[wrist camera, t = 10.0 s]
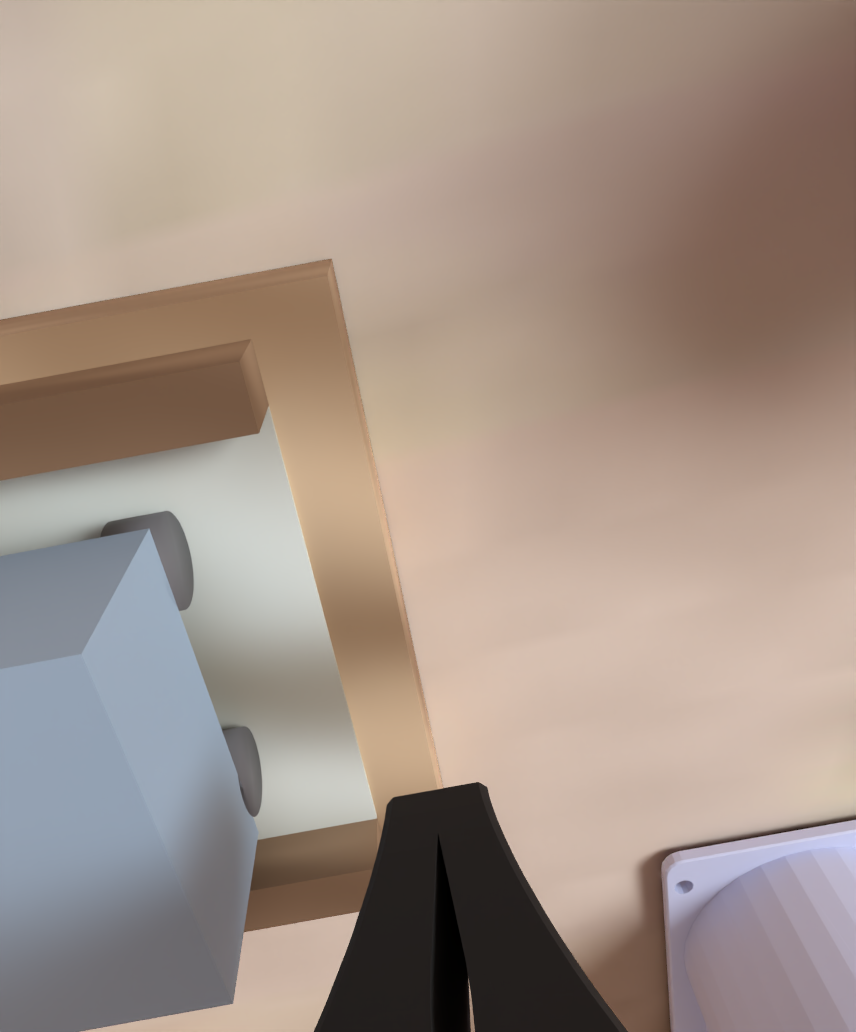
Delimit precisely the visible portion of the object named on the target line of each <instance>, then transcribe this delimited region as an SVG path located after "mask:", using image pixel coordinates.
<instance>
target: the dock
mask: <svg viewBox="0 0 856 1032" xmlns="http://www.w3.org/2000/svg"><path fill="white" fill-rule="evenodd" d="M163 511H170V512H171V513H173V514H174V515H175V516H176V518H177V519H178V521H179V523H180V524H181V526H182V528H183V531H184V533H185V536H186V539H187V542H188V546H189V549H190V554H191V559H192V565H193V576H194V590H193V597H192V601H191V604H190V606H189V607H188V609H186V610H183V611H179V613H180V615H181V618H182V621H183V624H184V626H185V629H186V632H187V635H188V638H189V640H190V643H191V646H192V649H193V651H194V654H195V657H196V660H197V663H198V665H199V668H200V671H201V674H202V676H203V679H204V682H205V685H206V688H207V690H208V693H209V696H210V699H211V701H212V704H213V707H214V710H215V713H216V715H217V718H218V721H219V724H220V726H221V729H222V730H226V729H232V728H237V727H243V726H246V727H248V728H249V729H250V731H251V733H252V734H253V737H254V739H255V742H256V745H257V749H258V753H259V758H260V764H261V773H262V801H261V807H260V811H259V813H258V815H257V816H256V817H253V818H254V821H255V824H256V827H257V829H258V832H259V833H258V840H257V846H256V853H255V860H254V866H253V873H252V880H251V886H250V893H249V900H248V906H247V913H246V920H245V926H244V932H247V931H253V930H259V929H264V928H270V927H275V926H281V925H287V924H292V923H298V922H304V921H309V920H315V919H320V918H326V917H332V916H337V915H343V914H348V913H354V912H360V909H361V906H362V903H363V900H364V897H365V894H366V891H367V888H368V885H369V881H370V877H371V874H372V870H373V867H374V863H375V859H376V856H377V852H378V848H379V843H380V839H381V834H382V830H383V825H384V820H385V813H386V806H387V804H388V803H389V801H390V800H391V799H392V798H393V797H397V796H403V795H408V794H414V793H420V792H425V791H431V790H437V789H442V788H443V785H442V780H441V775H440V771H439V766H438V761H437V756H436V752H435V747H434V742H433V737H432V733H431V728H430V723H429V718H428V714H427V709H426V704H425V699H424V695H423V690H422V685H421V680H420V676H419V671H418V666H417V661H416V657H415V652H414V647H413V642H412V638H411V633H410V628H409V623H408V619H407V614H406V609H405V604H404V600H403V595H402V590H401V586H400V581H399V576H398V571H397V567H396V562H395V557H394V552H393V548H392V543H391V538H390V533H389V529H388V524H387V519H386V514H385V510H384V505H383V500H382V495H381V491H380V486H379V481H378V476H377V472H376V467H375V462H374V457H373V453H372V448H371V443H370V438H369V434H368V429H367V424H366V419H365V415H364V410H363V405H362V400H361V396H360V391H359V386H358V382H357V377H356V372H355V367H354V363H353V358H352V353H351V348H350V344H349V339H348V334H347V329H346V325H345V320H344V315H343V310H342V306H341V301H340V296H339V291H338V287H337V282H336V277H335V272H334V268H333V263H332V259H328V260H322V261H317V262H311V263H306V264H301V265H295V266H290V267H284V268H279V269H273V270H268V271H263V272H257V273H252V274H246V275H241V276H235V277H230V278H225V279H219V280H214V281H208V282H203V283H198V284H192V285H187V286H181V287H176V288H170V289H165V290H160V291H154V292H149V293H143V294H138V295H133V296H127V297H122V298H116V299H111V300H105V301H100V302H95V303H89V304H84V305H78V306H73V307H67V308H62V309H57V310H51V311H46V312H40V313H35V314H30V315H24V316H19V317H13V318H8V319H2V320H0V556H4V555H9V554H15V553H20V552H25V551H31V550H36V549H41V548H47V547H52V546H57V545H63V544H68V543H73V542H79V541H84V540H89V539H95V538H100V536H101V532H102V529H103V528H104V526H105V525H106V524H107V523H108V522H110V521H115V520H120V519H125V518H131V517H136V516H141V515H147V514H152V513H157V512H163Z"/></svg>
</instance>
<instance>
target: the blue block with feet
mask: <svg viewBox="0 0 856 1032" xmlns="http://www.w3.org/2000/svg"><path fill="white" fill-rule="evenodd" d="M193 590H194V576H193V565H192V559H191V554H190V549H189V546H188V542H187V539H186V536H185V533H184V531H183V528H182V526H181V524H180V523H179V521H178V519H177V518H176V516H175V515H174V514H173V513H171V512H170V511H163V512H157V513H152V514H147V515H141V516H136V517H131V518H125V519H120V520H115V521H110V522H108V523H107V524H106V525H105V526H104V528H103V529H102V532H101V536H100V538H95V539H89V540H84V541H79V542H73V543H68V544H63V545H57V546H52V547H47V548H41V549H36V550H31V551H25V552H20V553H15V554H9V555H4V556H0V1032H79V1031H85V1030H90V1029H96V1028H101V1027H107V1026H112V1025H118V1024H123V1023H129V1022H135V1021H140V1020H146V1019H151V1018H157V1017H162V1016H168V1015H173V1014H179V1013H184V1012H190V1011H195V1010H201V1009H206V1008H212V1007H217V1006H223V1005H229V1004H233V1000H234V993H235V986H236V980H237V973H238V966H239V960H240V953H241V946H242V940H243V933H244V926H245V920H246V913H247V906H248V900H249V893H250V886H251V880H252V873H253V866H254V860H255V853H256V846H257V840H258V833H259V832H258V829H257V827H256V824H255V821H254V818H253V817H256V816H257V815H258V813H259V811H260V807H261V801H262V773H261V764H260V758H259V753H258V749H257V745H256V742H255V739H254V737H253V734H252V733H251V731H250V729H249V728H248V727H246V726H243V727H237V728H232V729H226V730H222V729H221V726H220V724H219V721H218V718H217V715H216V713H215V710H214V707H213V704H212V701H211V699H210V696H209V693H208V690H207V688H206V685H205V682H204V679H203V676H202V674H201V671H200V668H199V665H198V663H197V660H196V657H195V654H194V651H193V649H192V646H191V643H190V640H189V638H188V635H187V632H186V629H185V626H184V624H183V621H182V618H181V615H180V613H179V611H183V610H186V609H188V607H189V606H190V604H191V601H192V597H193Z"/></svg>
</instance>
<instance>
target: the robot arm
mask: <svg viewBox="0 0 856 1032" xmlns="http://www.w3.org/2000/svg"><path fill="white" fill-rule="evenodd" d="M661 872H662V889H663V906H664V923H665V939H666V956H667V973H668V990H669V1007H670V1024H671V1032H856V820H851V821H846V822H840V823H834V824H829V825H823V826H817V827H812V828H806V829H801V830H795V831H789V832H784V833H778V834H773V835H767V836H761V837H756V838H750V839H745V840H739V841H733V842H728V843H722V844H716V845H711V846H705V847H700V848H694V849H688V850H683V851H677V852H674V853H672V854H670V855H669V856H667V857H666V858H665V859H664V861H663V862H662V866H661ZM468 977H469V983H470V989H471V996H472V1005H473V1015H474V1025H475V1032H628V1031H627V1030H626V1029H625V1028H624V1026H623V1025H622V1024H621V1022H620V1021H619V1020H618V1018H617V1017H616V1016H615V1014H614V1013H613V1012H612V1010H611V1009H610V1008H609V1006H608V1005H607V1004H606V1002H605V1001H604V1000H603V998H602V997H601V996H600V994H599V993H598V991H597V990H596V989H595V987H594V986H593V984H592V983H591V982H590V980H589V979H588V977H587V976H586V974H585V973H584V971H583V970H582V969H581V967H580V966H579V964H578V963H577V961H576V960H575V958H574V957H573V955H572V954H571V952H570V951H569V949H568V948H567V946H566V945H565V943H564V942H563V940H562V939H561V937H560V935H559V934H558V932H557V931H556V929H555V927H554V926H553V924H552V923H551V921H550V919H549V918H548V916H547V915H546V913H545V911H544V910H543V908H542V906H541V904H540V903H539V901H538V899H537V897H536V896H535V894H534V892H533V890H532V889H531V887H530V885H529V883H528V882H527V880H526V878H525V876H524V875H523V873H522V871H521V869H520V867H519V865H518V863H517V861H516V859H515V857H514V855H513V853H512V851H511V849H510V847H509V845H508V843H507V841H506V839H505V837H504V834H503V832H502V830H501V827H500V825H499V823H498V820H497V818H496V815H495V812H494V810H493V807H492V804H491V801H490V797H489V793H488V789H487V787H486V786H484V785H482V784H481V783H479V782H476V783H471V784H465V785H459V786H454V787H448V788H442V789H437V790H431V791H425V792H420V793H414V794H408V795H403V796H397V797H393V798H392V799H391V800H390V801H389V803H388V804H387V806H386V813H385V820H384V825H383V830H382V834H381V839H380V843H379V848H378V852H377V856H376V859H375V863H374V867H373V870H372V874H371V877H370V881H369V885H368V888H367V891H366V894H365V897H364V900H363V903H362V906H361V909H360V913H359V916H358V919H357V922H356V925H355V928H354V931H353V934H352V937H351V940H350V943H349V945H348V948H347V951H346V953H345V956H344V958H343V961H342V964H341V966H340V969H339V971H338V974H337V976H336V979H335V982H334V984H333V987H332V989H331V992H330V994H329V997H328V1000H327V1002H326V1005H325V1007H324V1009H323V1012H322V1014H321V1016H320V1019H319V1021H318V1023H317V1026H316V1028H315V1030H314V1032H471V1029H470V1005H469V983H468Z"/></svg>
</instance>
